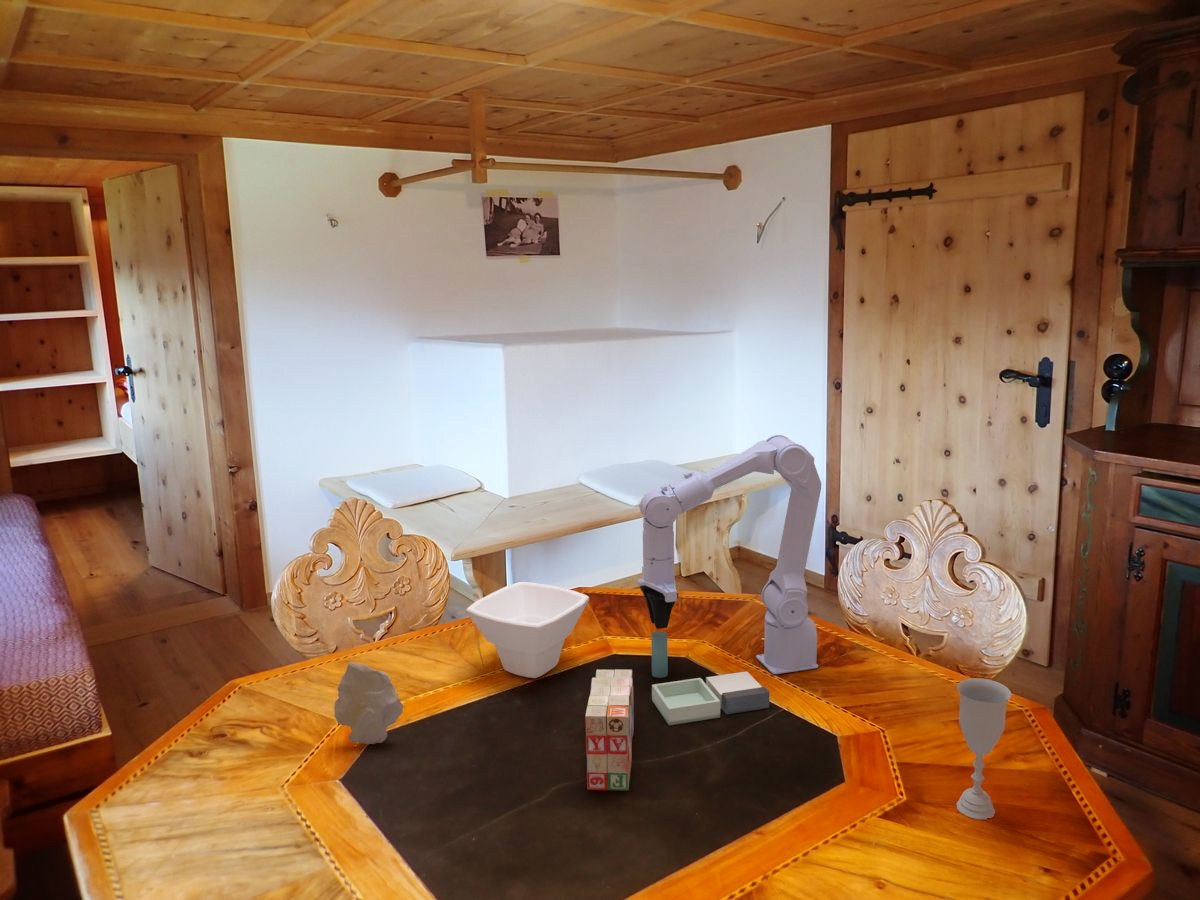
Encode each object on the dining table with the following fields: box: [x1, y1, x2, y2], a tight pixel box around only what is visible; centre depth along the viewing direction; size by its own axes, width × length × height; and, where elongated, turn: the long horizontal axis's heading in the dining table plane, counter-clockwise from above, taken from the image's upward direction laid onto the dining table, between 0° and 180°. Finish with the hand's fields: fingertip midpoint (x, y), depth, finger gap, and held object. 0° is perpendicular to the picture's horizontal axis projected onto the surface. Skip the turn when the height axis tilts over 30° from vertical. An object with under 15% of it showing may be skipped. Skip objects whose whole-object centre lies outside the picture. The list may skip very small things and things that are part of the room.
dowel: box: [650, 630, 669, 679], centre depth 167 cm, size 3×3×8 cm
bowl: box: [465, 581, 590, 679], centre depth 170 cm, size 19×19×14 cm
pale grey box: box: [705, 671, 763, 710], centre depth 159 cm, size 8×7×3 cm
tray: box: [651, 677, 721, 726], centre depth 155 cm, size 9×9×3 cm
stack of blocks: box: [584, 668, 635, 792], centre depth 141 cm, size 21×6×12 cm, turn 176°
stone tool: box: [333, 661, 404, 746], centre depth 144 cm, size 11×4×15 cm, turn 95°
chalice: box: [956, 677, 1012, 820], centre depth 123 cm, size 7×7×18 cm
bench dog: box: [721, 686, 771, 715], centre depth 154 cm, size 8×2×3 cm, turn 105°
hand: (659, 625), depth 166 cm, fingers closed
